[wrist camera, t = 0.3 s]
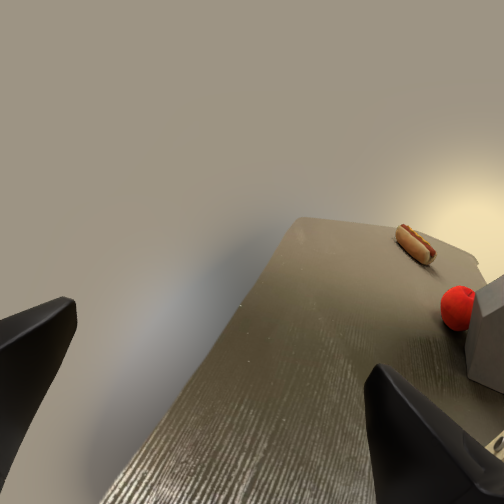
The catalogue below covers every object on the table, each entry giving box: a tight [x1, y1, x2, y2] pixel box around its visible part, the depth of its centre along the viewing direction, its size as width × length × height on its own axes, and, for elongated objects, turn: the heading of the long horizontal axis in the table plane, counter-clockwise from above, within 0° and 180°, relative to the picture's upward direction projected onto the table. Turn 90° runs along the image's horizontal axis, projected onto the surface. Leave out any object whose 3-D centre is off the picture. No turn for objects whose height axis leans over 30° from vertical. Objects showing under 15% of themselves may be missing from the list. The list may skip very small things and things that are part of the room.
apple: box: [441, 286, 475, 331], centre depth 45 cm, size 8×8×7 cm
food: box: [396, 224, 437, 265], centre depth 71 cm, size 14×6×5 cm, turn 13°
